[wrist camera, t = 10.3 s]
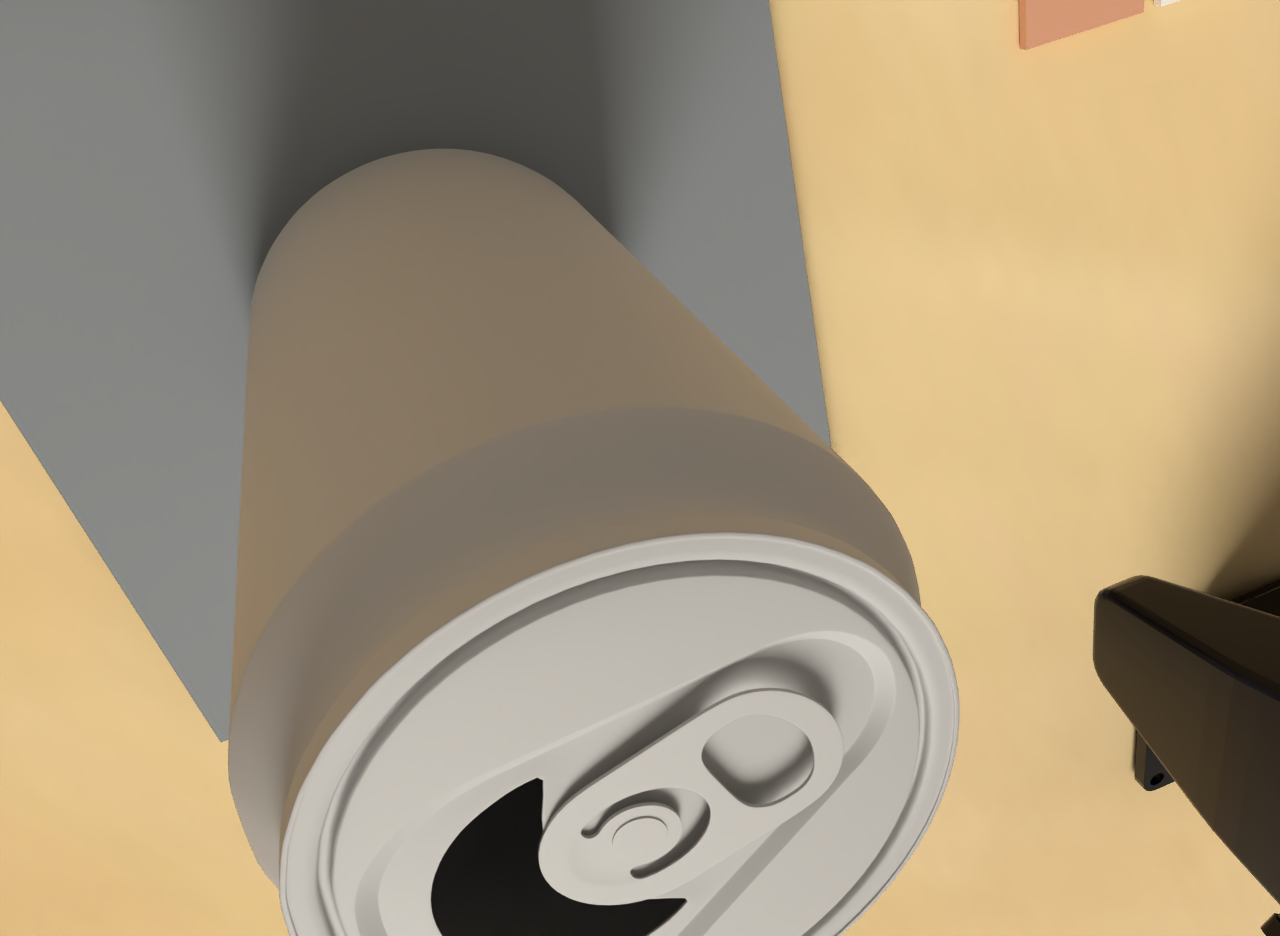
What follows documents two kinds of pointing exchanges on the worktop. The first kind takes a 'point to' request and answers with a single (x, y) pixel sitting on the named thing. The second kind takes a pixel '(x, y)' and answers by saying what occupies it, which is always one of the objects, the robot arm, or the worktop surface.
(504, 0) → the slate mat
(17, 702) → the worktop surface
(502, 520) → the beverage can
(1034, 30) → the two-tone square tiles
